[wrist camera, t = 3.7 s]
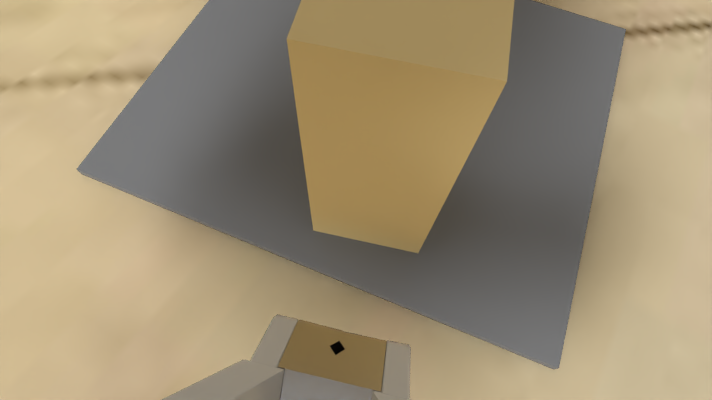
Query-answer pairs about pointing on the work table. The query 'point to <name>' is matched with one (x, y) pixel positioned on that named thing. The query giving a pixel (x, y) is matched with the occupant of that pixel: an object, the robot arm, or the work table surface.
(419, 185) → the block
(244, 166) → the mat
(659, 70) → the work table surface
